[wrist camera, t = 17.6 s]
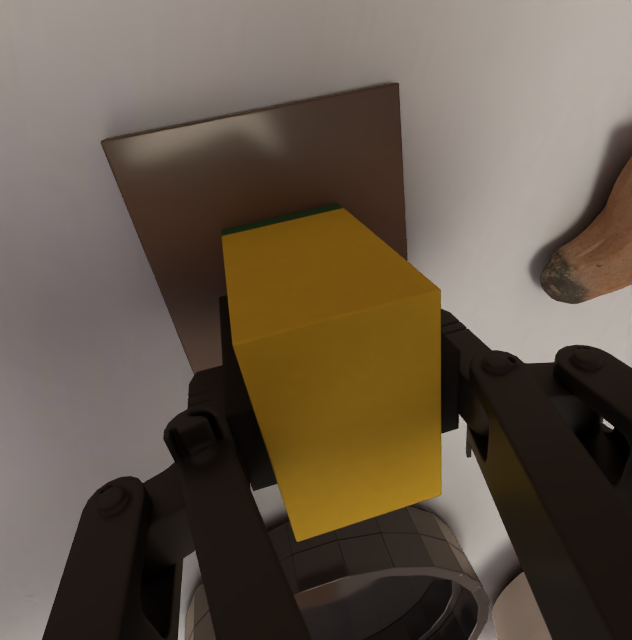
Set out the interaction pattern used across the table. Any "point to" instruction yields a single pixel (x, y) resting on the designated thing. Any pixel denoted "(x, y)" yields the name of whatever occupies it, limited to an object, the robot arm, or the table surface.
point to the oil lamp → (596, 252)
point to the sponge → (337, 365)
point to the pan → (375, 582)
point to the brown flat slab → (254, 190)
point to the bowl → (518, 613)
